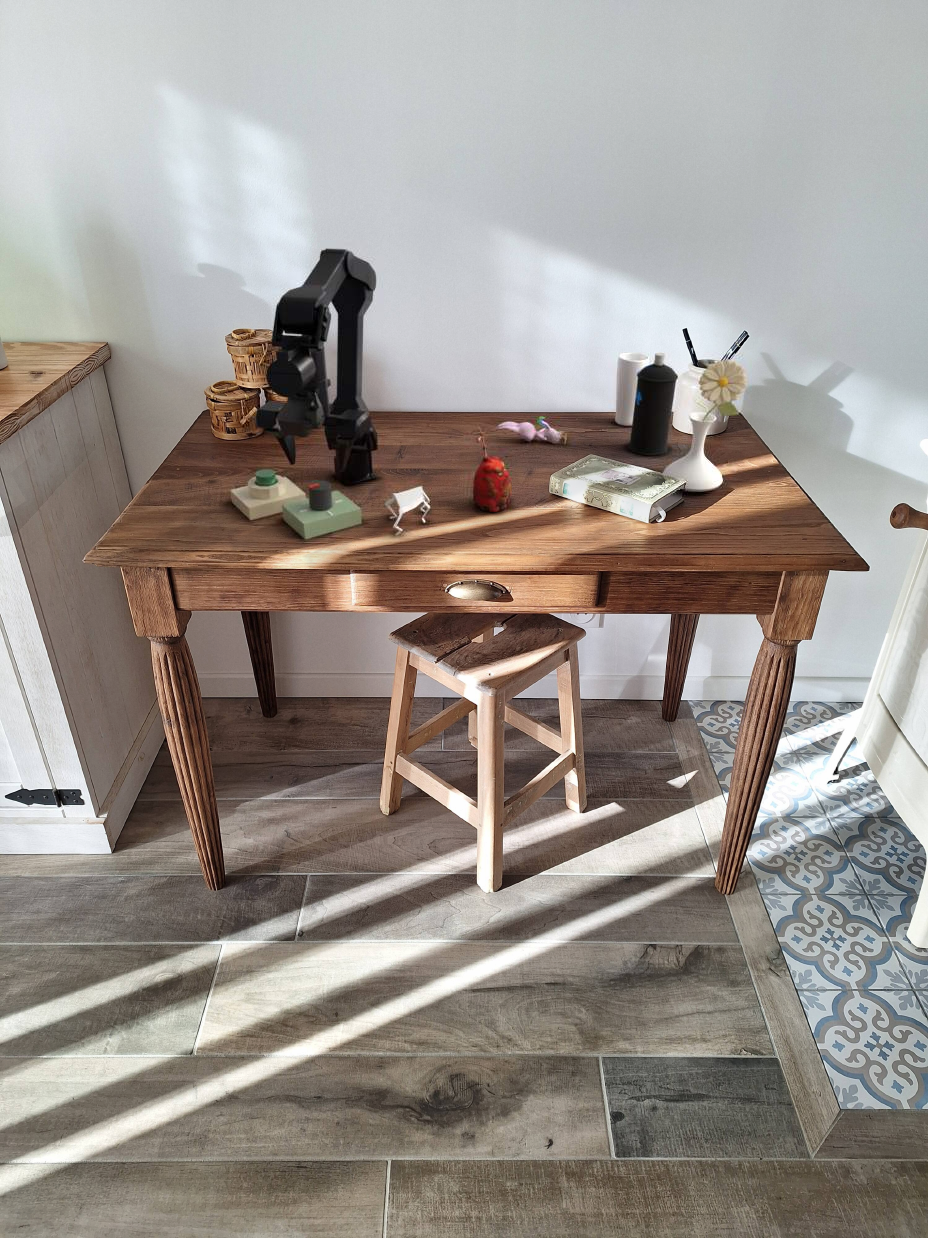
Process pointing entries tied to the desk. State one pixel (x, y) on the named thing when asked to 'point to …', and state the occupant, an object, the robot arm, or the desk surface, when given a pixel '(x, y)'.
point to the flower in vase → (721, 388)
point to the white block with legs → (408, 503)
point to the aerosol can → (653, 408)
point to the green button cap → (265, 477)
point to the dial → (320, 495)
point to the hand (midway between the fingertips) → (317, 467)
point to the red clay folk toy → (491, 483)
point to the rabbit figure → (534, 431)
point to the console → (321, 516)
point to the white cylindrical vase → (627, 385)
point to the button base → (265, 497)
